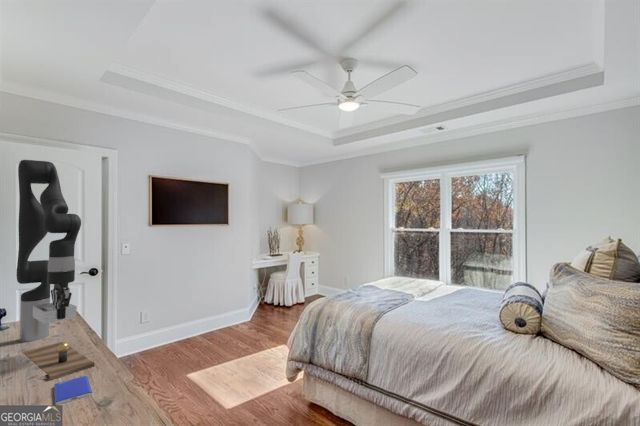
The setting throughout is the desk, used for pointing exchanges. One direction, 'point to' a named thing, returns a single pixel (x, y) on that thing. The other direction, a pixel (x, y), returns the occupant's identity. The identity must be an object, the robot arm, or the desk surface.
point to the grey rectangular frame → (52, 312)
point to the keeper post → (62, 352)
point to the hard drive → (72, 389)
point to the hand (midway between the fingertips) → (60, 318)
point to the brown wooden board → (49, 361)
